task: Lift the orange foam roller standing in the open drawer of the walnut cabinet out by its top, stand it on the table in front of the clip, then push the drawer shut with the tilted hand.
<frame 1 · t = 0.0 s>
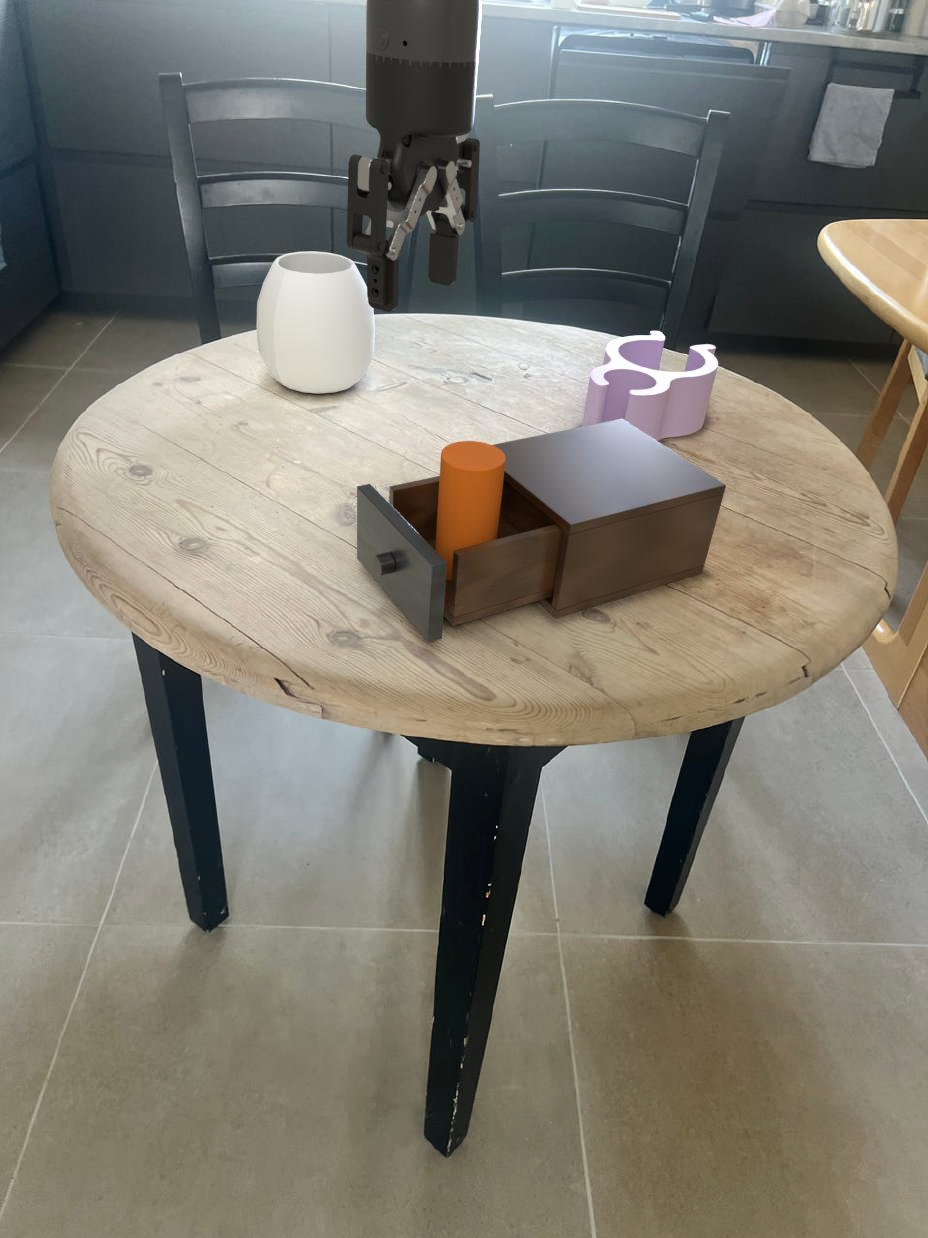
hand: (413, 295, 70), 20 cm above the table, tool pointing down, fingers open, 8 cm apart
clip: (640, 422, 103), on the table
roller: (463, 567, 73), point 2 cm above the table, touching drawer
white vase: (317, 382, 106), on the table
drawer: (466, 543, 72), point 4 cm above the table, slide at 10.0 cm, touching roller
cabinet: (583, 554, 80), on the table
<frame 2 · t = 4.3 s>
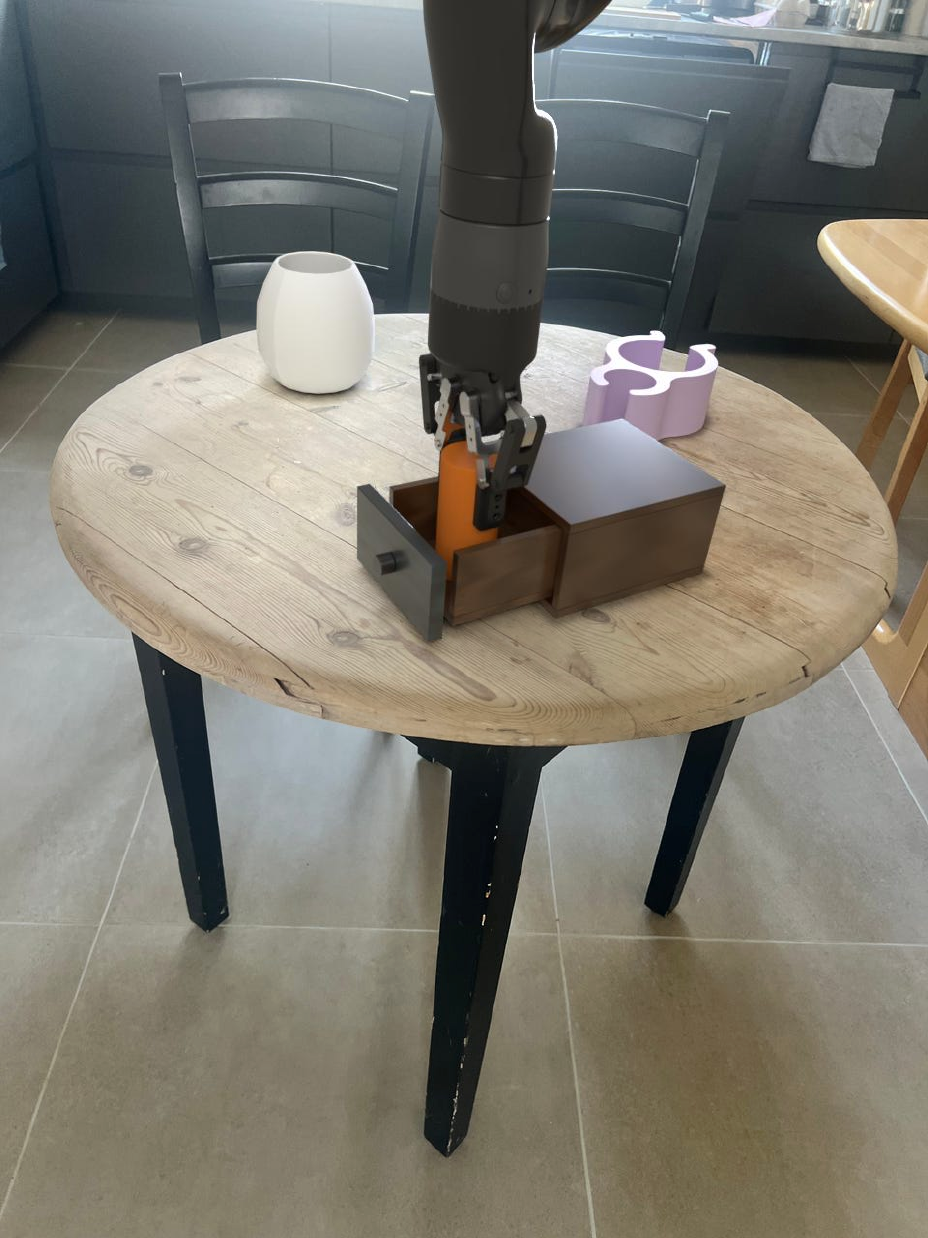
hand: (468, 509, 70), 7 cm above the table, tool pointing down, fingers closed on roller, 4 cm apart
roller: (463, 567, 73), point 2 cm above the table, touching drawer, gripper
everything else where it was.
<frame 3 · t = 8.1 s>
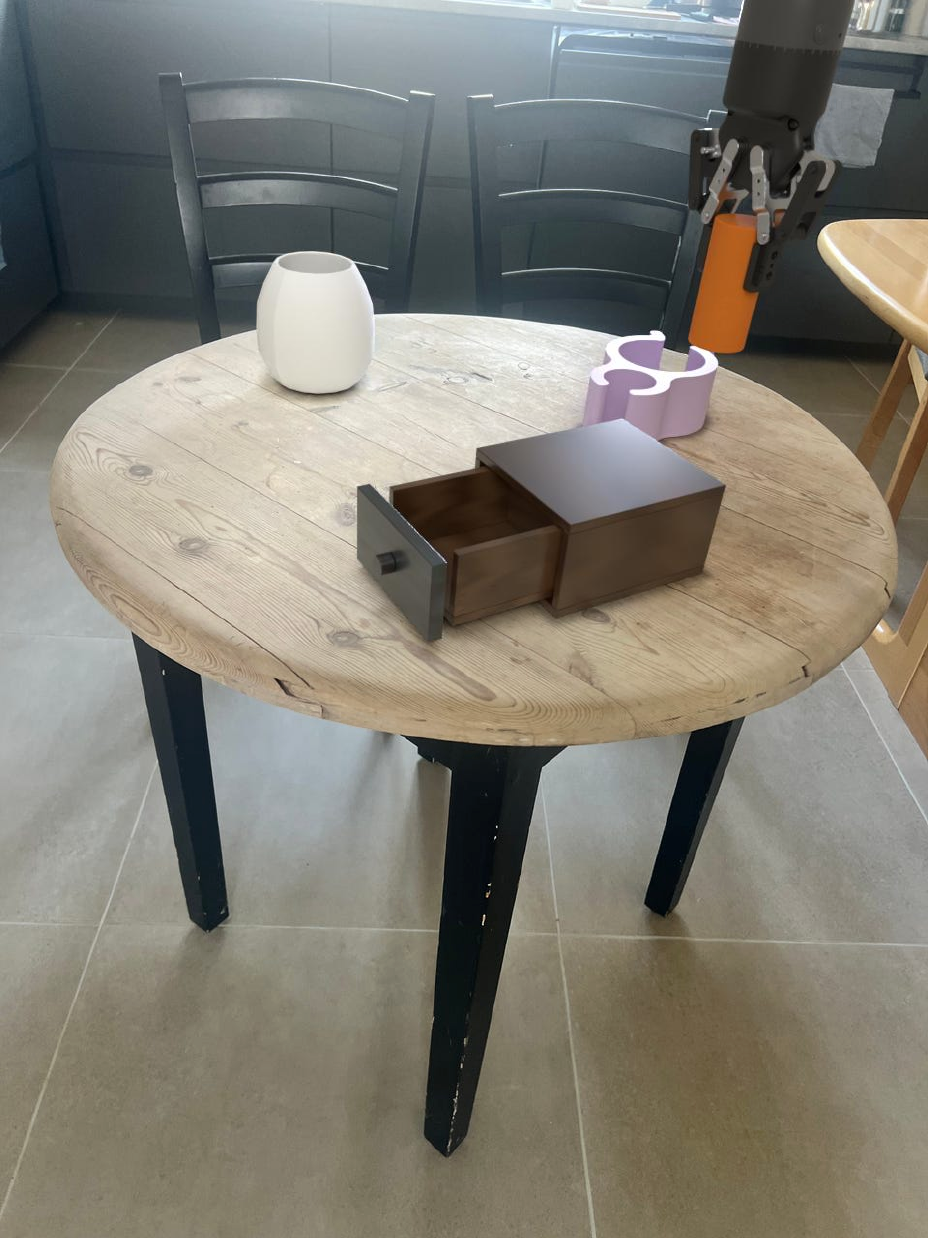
hand: (731, 279, 75), 21 cm above the table, tool pointing down, fingers closed on roller, 4 cm apart
roller: (715, 343, 78), point 16 cm above the table, touching gripper
drawer: (466, 543, 72), point 4 cm above the table, slide at 10.0 cm
everything else where it was.
when the fingers open (5 cm above the table, at t = 12.3 s): roller stays where it is, on the table.
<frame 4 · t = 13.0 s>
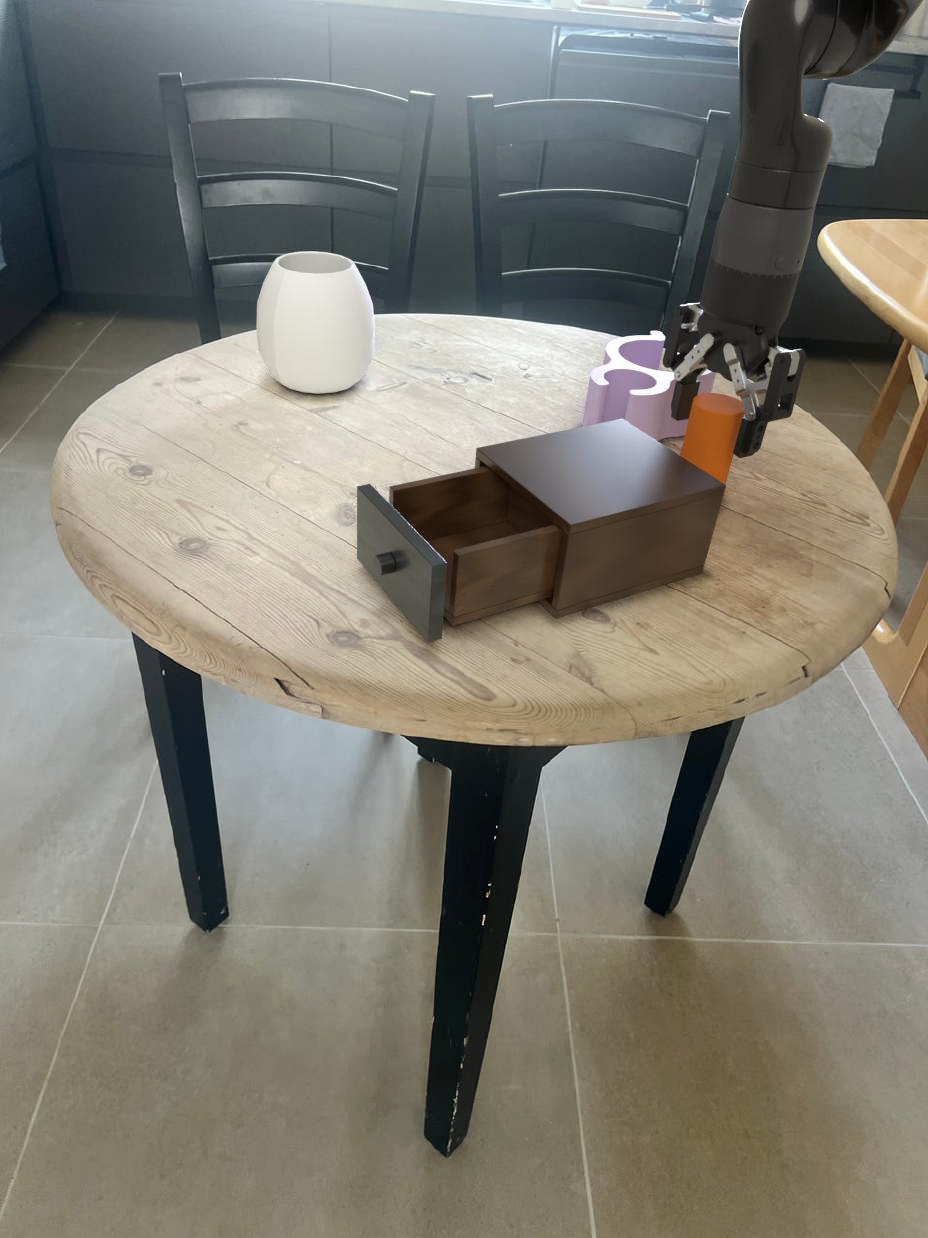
hand: (711, 436, 85), 7 cm above the table, tool pointing down, fingers open, 8 cm apart
roller: (695, 498, 89), on the table
everything else where it was.
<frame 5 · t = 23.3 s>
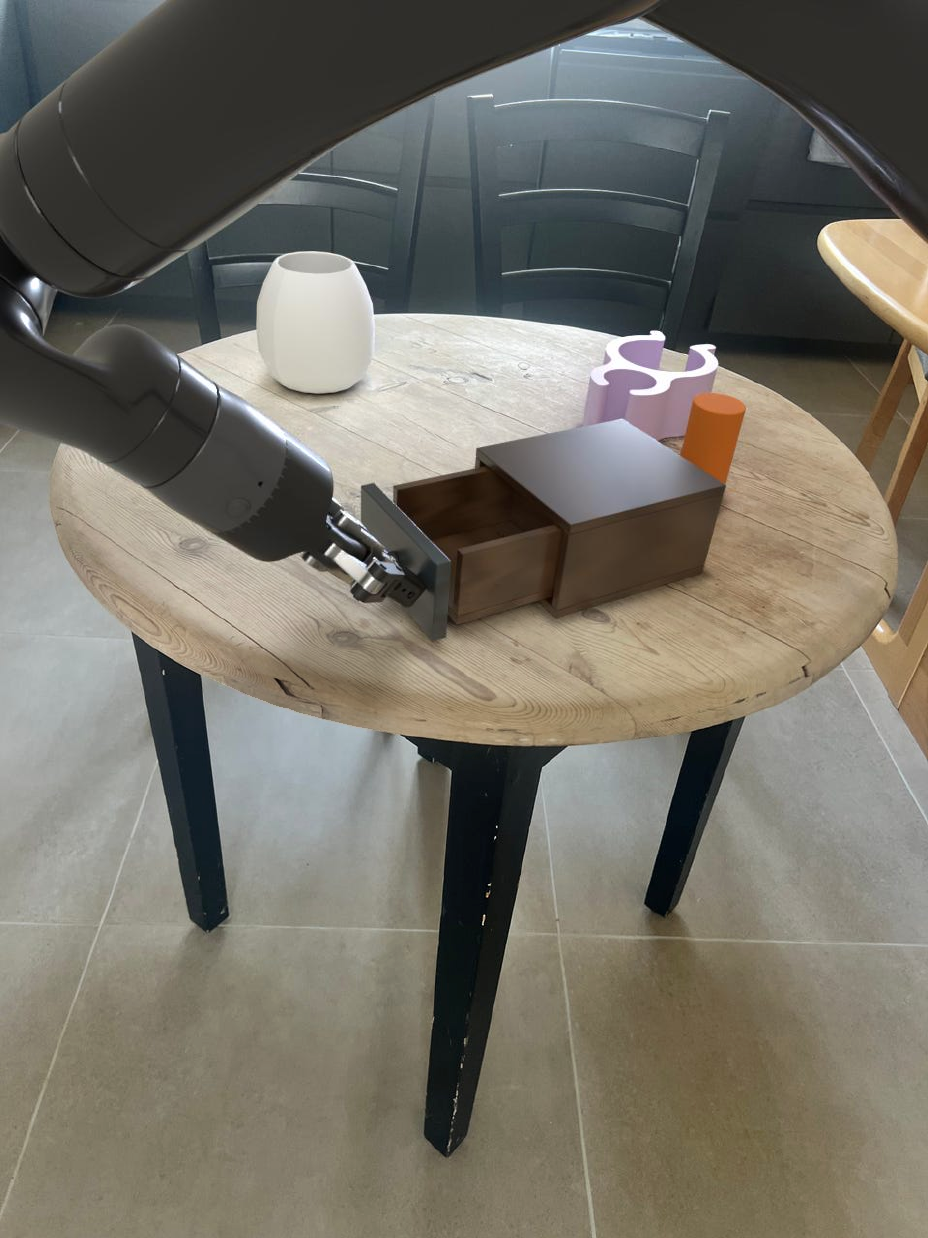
hand: (413, 592, 66), 4 cm above the table, tool tilted 45°, fingers closed
drawer: (470, 542, 72), point 4 cm above the table, slide at 9.7 cm, touching gripper
everything else where it was.
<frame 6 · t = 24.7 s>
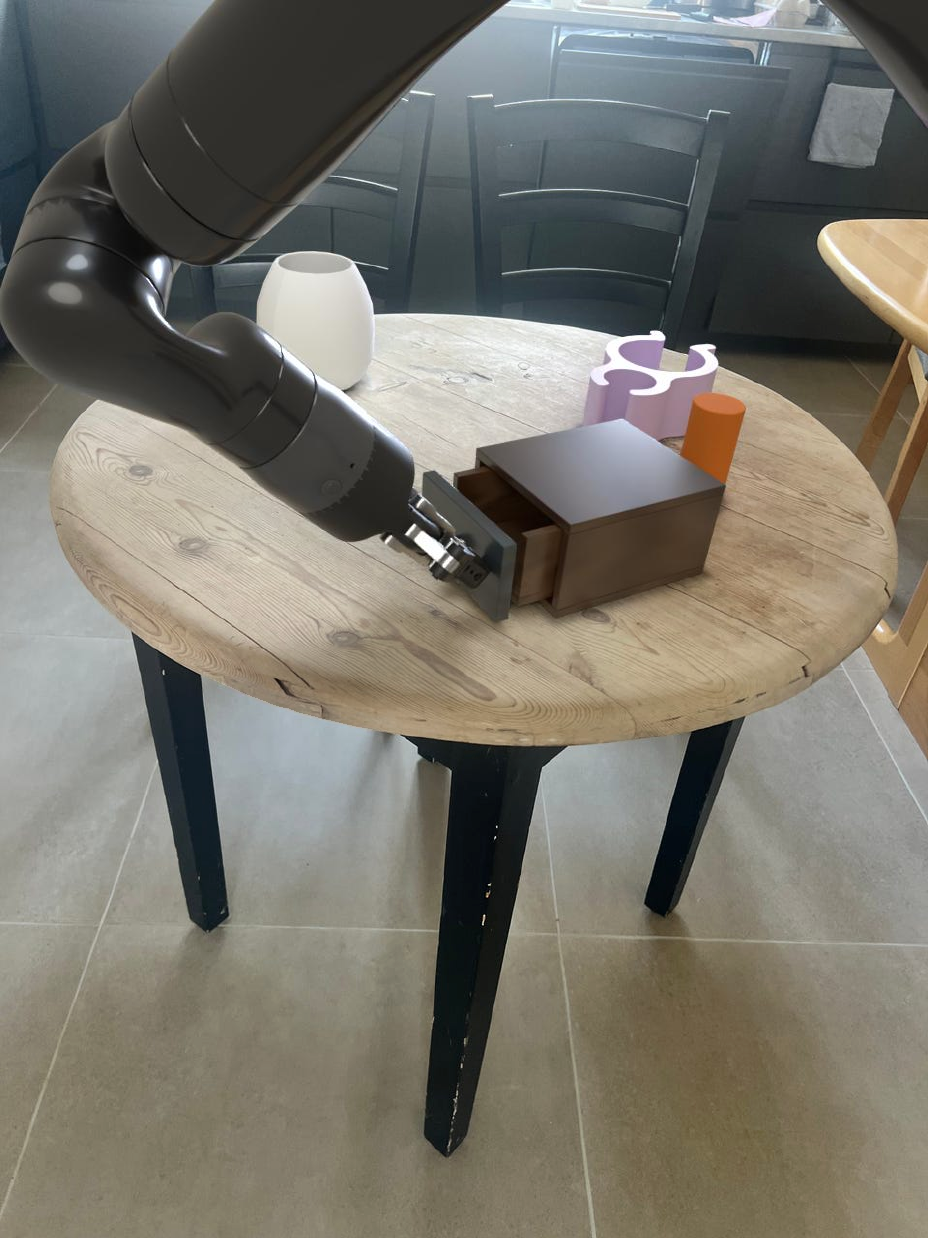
hand: (478, 574, 68), 4 cm above the table, tool tilted 45°, fingers closed
drawer: (528, 527, 74), point 4 cm above the table, slide at 4.1 cm, touching gripper
everything else where it was.
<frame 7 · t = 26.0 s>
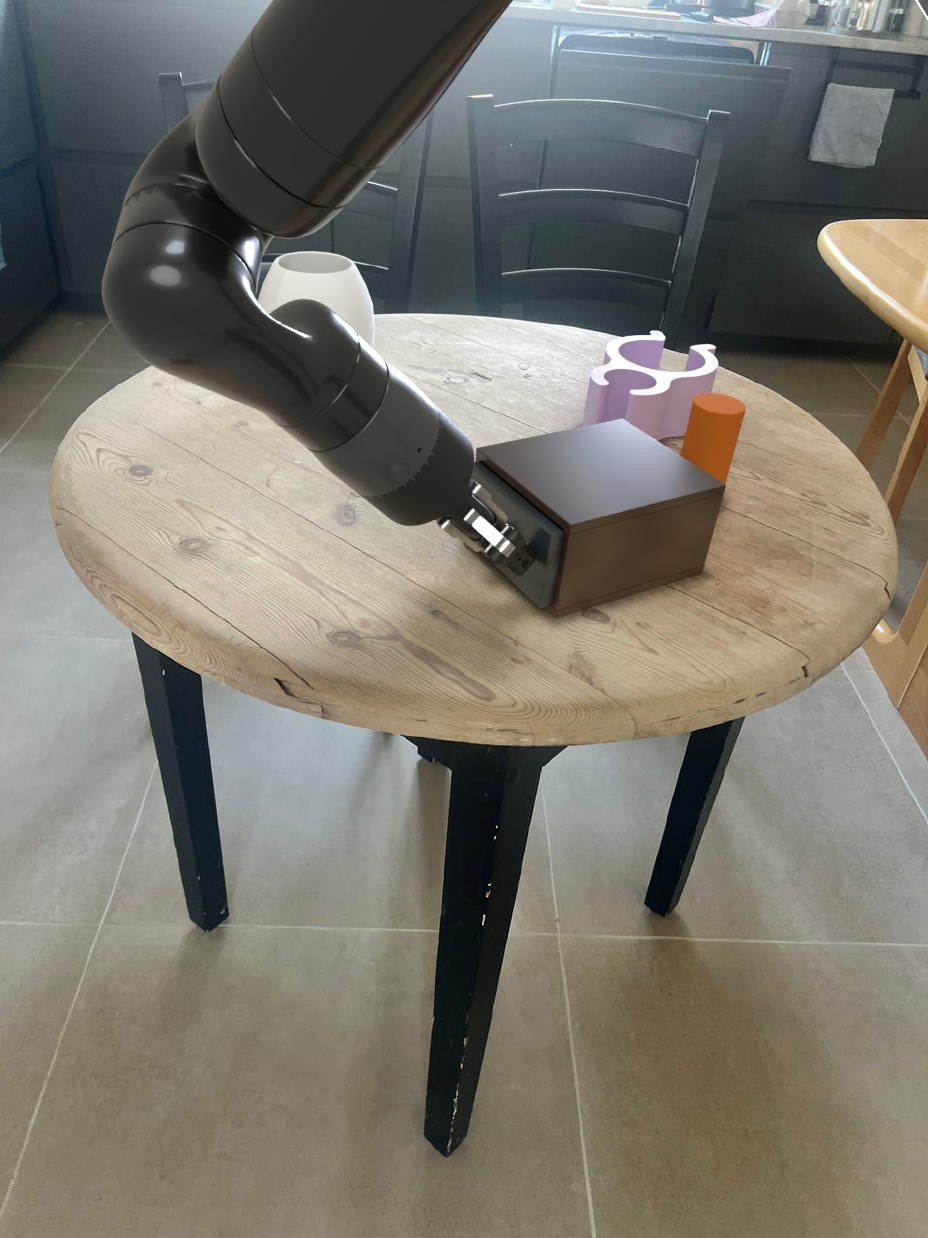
hand: (523, 562, 70), 4 cm above the table, tool tilted 45°, fingers closed
drawer: (569, 517, 76), point 4 cm above the table, slide at 0.0 cm, touching cabinet, gripper
everything else where it was.
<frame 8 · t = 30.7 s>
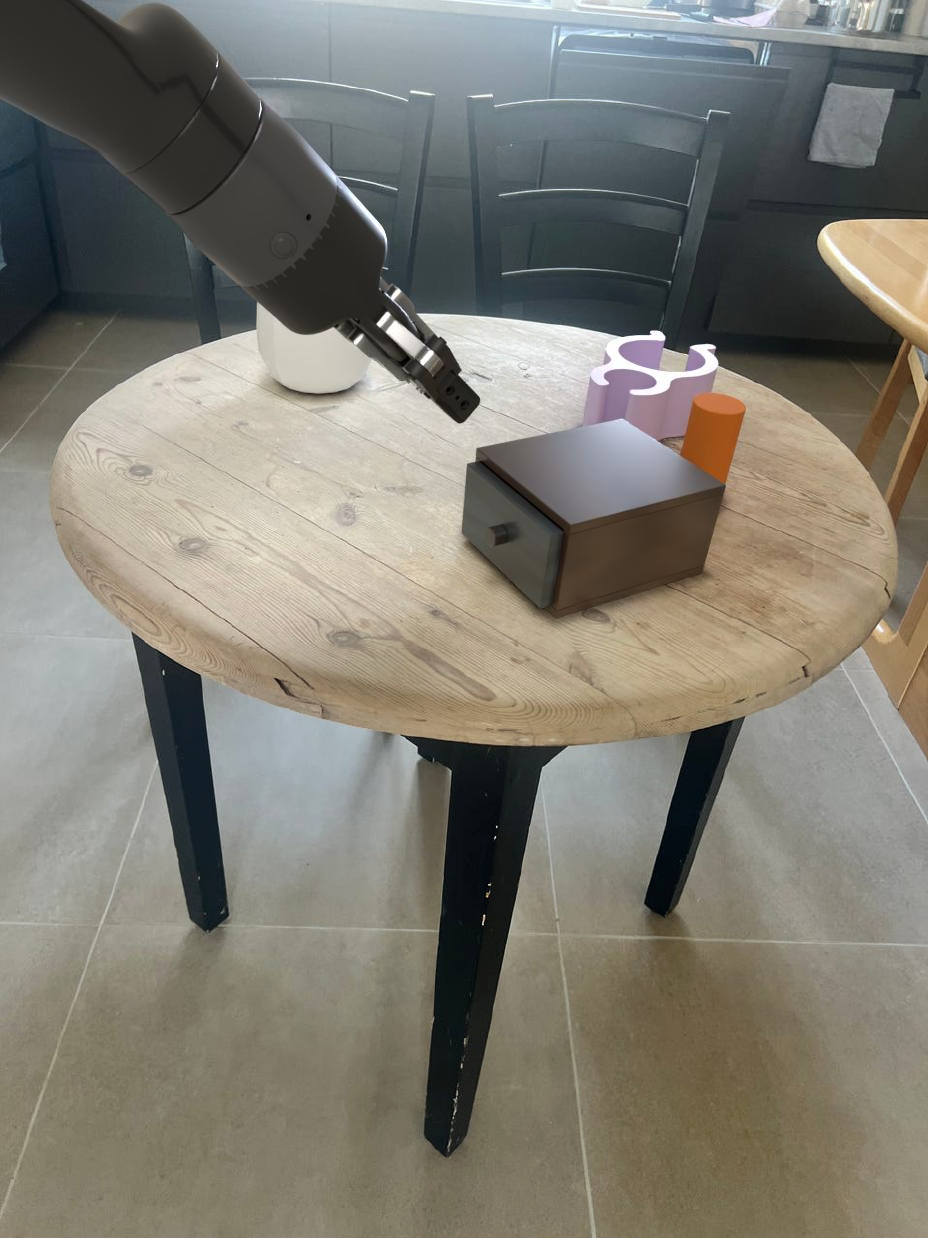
hand: (465, 408, 59), 18 cm above the table, tool tilted 45°, fingers closed
drawer: (569, 517, 76), point 4 cm above the table, slide at 0.0 cm, touching cabinet
everything else where it was.
at the end: roller inside the target area on the table beside the clip (0.0 cm from its centre), on the table; roller tilted 0°; drawer slide at 0.0 cm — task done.
